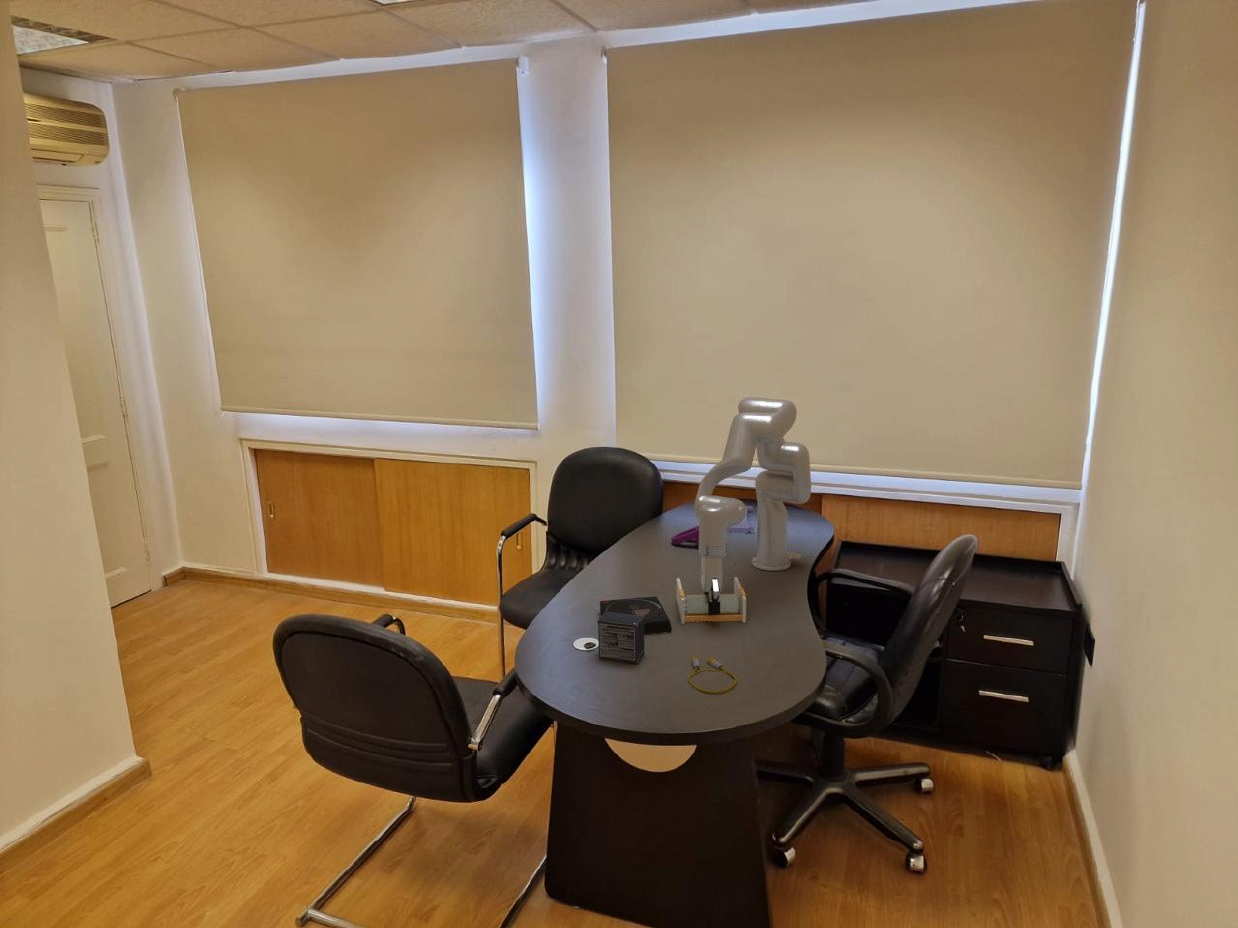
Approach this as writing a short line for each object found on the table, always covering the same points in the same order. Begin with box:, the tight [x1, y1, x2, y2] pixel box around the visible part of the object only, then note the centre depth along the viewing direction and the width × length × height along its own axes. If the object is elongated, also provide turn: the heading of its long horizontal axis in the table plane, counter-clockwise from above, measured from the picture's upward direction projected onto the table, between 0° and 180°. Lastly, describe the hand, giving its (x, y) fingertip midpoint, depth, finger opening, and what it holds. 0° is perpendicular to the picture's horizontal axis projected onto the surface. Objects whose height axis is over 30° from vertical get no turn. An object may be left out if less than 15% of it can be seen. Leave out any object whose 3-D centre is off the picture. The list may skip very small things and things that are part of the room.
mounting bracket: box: [671, 525, 699, 547], centre depth 283 cm, size 9×8×18 cm
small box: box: [597, 612, 645, 665], centre depth 202 cm, size 11×6×10 cm, turn 71°
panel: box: [685, 593, 739, 616], centre depth 224 cm, size 14×2×6 cm, turn 91°
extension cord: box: [687, 656, 738, 695], centre depth 192 cm, size 12×16×2 cm
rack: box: [676, 576, 747, 625], centre depth 228 cm, size 18×16×8 cm
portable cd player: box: [599, 596, 673, 635], centre depth 222 cm, size 16×17×4 cm
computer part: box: [727, 505, 755, 534], centre depth 309 cm, size 30×4×15 cm
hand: (711, 607), depth 224 cm, fingers open, 8 cm apart
